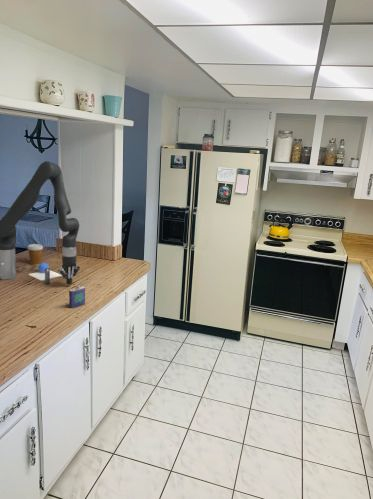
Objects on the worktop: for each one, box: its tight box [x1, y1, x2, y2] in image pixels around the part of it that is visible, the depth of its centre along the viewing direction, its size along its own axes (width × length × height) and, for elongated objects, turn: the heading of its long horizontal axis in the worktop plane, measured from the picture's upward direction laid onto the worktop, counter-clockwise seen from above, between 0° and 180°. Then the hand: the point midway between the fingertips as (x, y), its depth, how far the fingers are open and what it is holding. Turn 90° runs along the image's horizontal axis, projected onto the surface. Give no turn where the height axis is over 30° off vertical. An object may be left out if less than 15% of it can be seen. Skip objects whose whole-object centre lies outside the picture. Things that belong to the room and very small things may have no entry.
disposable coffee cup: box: [27, 243, 44, 265], centre depth 251 cm, size 10×10×12 cm
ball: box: [37, 262, 50, 273], centre depth 236 cm, size 6×6×6 cm
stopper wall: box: [17, 264, 40, 273], centre depth 240 cm, size 18×2×2 cm, turn 141°
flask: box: [68, 284, 86, 309], centre depth 191 cm, size 9×3×11 cm, turn 144°
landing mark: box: [28, 270, 63, 281], centre depth 232 cm, size 14×14×1 cm
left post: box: [44, 267, 51, 286], centre depth 217 cm, size 3×3×9 cm
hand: (69, 284), depth 217 cm, fingers closed
